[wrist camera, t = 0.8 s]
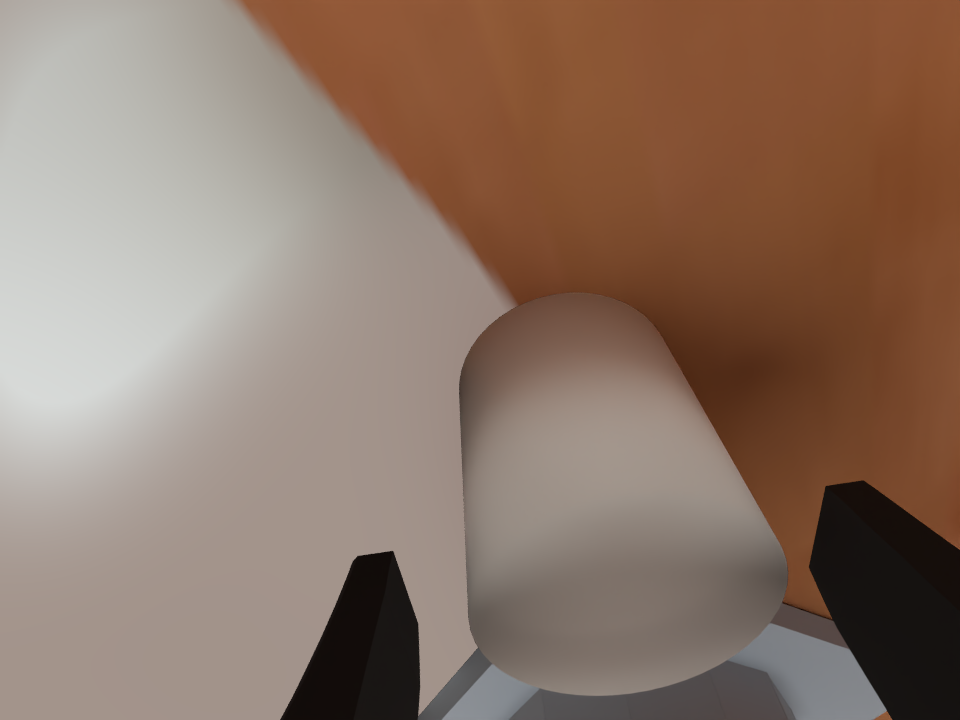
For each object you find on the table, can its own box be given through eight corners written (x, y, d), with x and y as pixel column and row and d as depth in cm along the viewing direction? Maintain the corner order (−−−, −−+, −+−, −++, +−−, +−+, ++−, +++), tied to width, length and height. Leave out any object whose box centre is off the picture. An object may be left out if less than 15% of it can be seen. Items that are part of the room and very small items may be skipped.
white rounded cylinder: (714, 346, 15) (857, 556, 10) (593, 489, 17) (657, 718, 12) (527, 255, 13) (581, 446, 8) (423, 425, 15) (414, 656, 10)
